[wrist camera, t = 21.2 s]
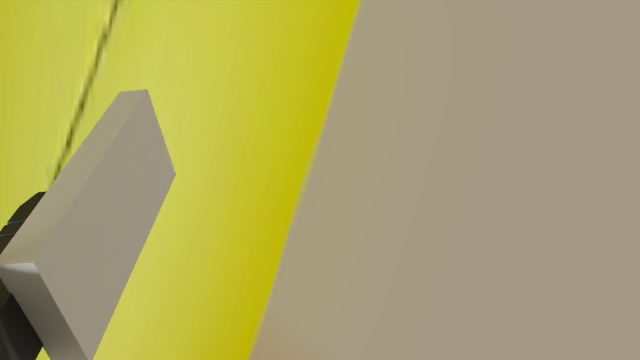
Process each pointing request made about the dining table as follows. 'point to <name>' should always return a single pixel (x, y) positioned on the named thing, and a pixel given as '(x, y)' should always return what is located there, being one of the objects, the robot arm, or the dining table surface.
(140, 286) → the dining table surface
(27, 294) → the robot arm
